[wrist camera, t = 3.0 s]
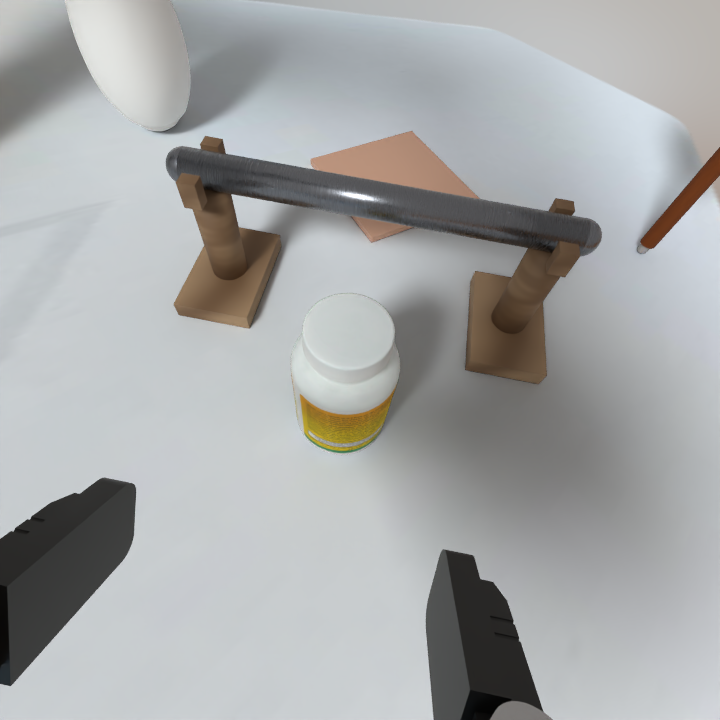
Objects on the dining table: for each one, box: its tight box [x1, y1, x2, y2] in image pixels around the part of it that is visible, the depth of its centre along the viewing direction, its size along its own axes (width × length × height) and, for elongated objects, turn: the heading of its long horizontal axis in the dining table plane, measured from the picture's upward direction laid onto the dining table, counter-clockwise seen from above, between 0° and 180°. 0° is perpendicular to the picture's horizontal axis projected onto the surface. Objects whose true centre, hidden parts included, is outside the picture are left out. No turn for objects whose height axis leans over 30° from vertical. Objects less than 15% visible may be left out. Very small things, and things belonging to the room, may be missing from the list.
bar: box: [166, 146, 602, 256], centre depth 23 cm, size 24×2×2 cm, turn 80°
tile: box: [311, 131, 479, 242], centre depth 38 cm, size 11×11×1 cm
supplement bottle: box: [291, 293, 400, 455], centre depth 22 cm, size 5×5×10 cm
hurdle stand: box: [174, 136, 580, 384], centre depth 27 cm, size 25×8×10 cm, turn 80°
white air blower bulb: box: [65, 0, 191, 131], centre depth 32 cm, size 8×8×18 cm
